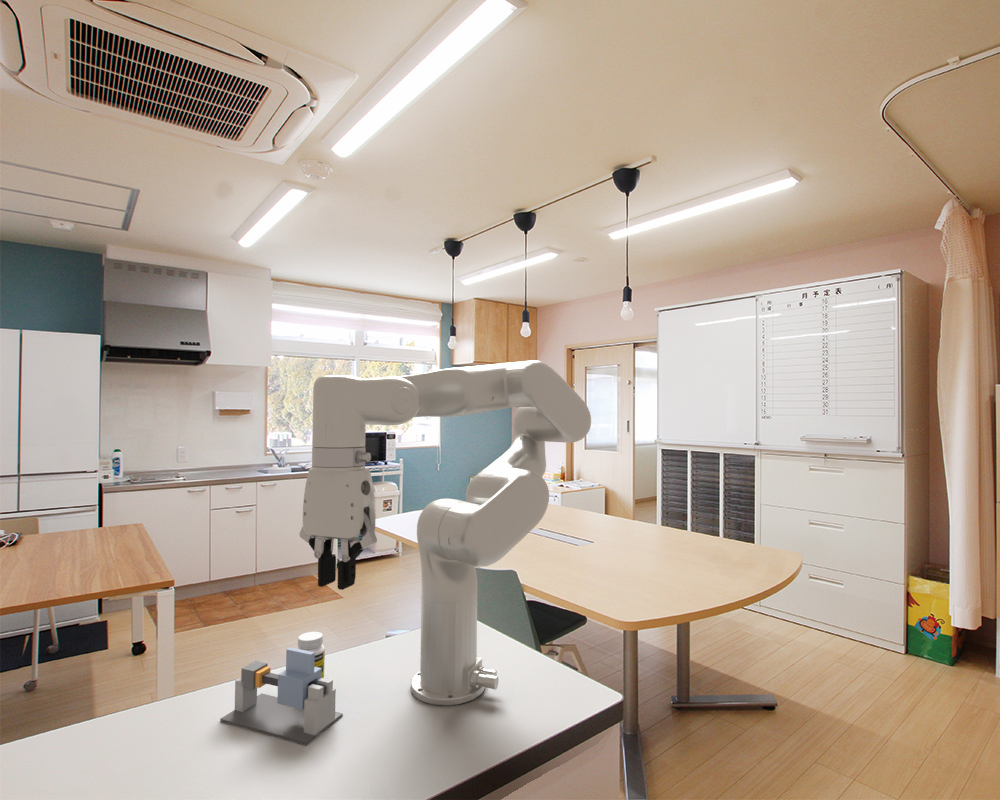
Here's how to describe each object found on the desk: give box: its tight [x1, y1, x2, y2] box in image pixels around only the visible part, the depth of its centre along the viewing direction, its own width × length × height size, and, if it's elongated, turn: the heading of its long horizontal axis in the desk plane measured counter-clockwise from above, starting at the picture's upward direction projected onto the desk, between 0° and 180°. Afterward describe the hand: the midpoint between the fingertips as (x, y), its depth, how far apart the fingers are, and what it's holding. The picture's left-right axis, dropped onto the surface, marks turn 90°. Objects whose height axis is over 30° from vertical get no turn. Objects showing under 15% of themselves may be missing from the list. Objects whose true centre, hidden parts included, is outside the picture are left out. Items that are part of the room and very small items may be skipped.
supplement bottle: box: [296, 631, 326, 678], centre depth 91 cm, size 5×5×8 cm
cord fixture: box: [219, 660, 344, 746], centre depth 81 cm, size 16×8×7 cm, turn 69°
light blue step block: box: [277, 647, 322, 710], centre depth 80 cm, size 5×4×7 cm
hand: (336, 584), depth 79 cm, fingers open, 2 cm apart
